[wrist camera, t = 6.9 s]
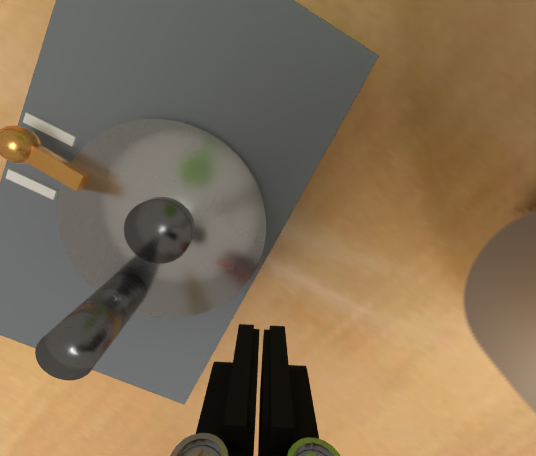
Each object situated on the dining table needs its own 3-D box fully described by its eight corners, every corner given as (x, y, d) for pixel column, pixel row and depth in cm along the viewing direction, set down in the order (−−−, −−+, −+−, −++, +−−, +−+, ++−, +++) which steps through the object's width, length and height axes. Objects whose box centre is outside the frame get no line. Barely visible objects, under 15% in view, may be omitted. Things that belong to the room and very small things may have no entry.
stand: (118, -89, 14) (92, -133, 12) (364, 67, 16) (380, 54, 14) (-11, 301, 19) (-45, 321, 17) (191, 380, 21) (183, 407, 19)
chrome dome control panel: (70, 38, 13) (-88, -56, 7) (302, 194, 15) (331, 222, 9) (-11, 220, 15) (-188, 267, 9) (205, 334, 17) (177, 433, 11)
